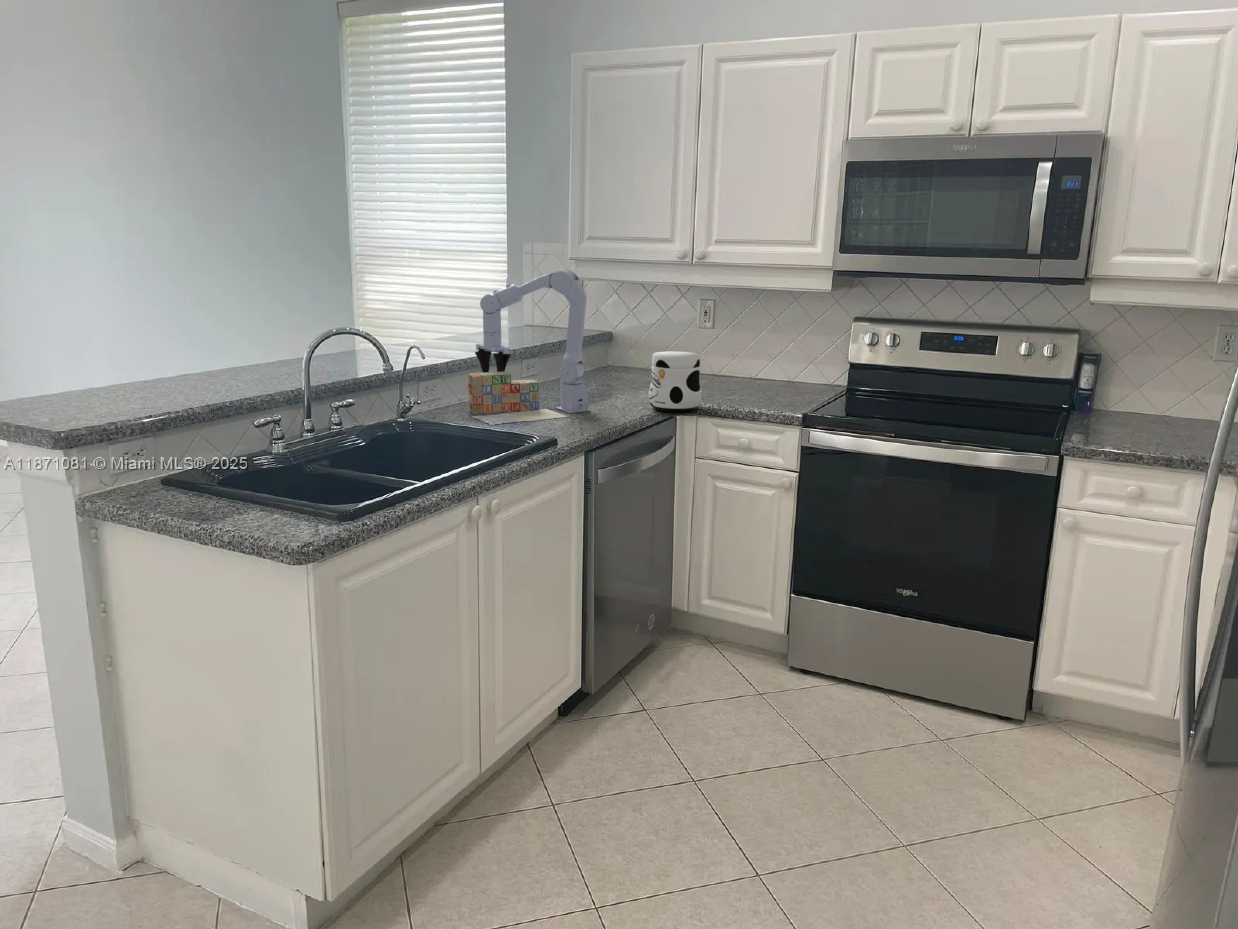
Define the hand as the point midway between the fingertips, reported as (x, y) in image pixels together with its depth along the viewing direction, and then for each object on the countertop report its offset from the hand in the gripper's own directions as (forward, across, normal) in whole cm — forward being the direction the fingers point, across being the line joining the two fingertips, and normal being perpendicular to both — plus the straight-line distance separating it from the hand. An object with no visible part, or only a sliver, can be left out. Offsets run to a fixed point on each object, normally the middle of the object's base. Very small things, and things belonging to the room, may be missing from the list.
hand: (493, 373), depth 294 cm
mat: (+10, -20, +7) cm, 24 cm away
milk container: (+11, -46, -38) cm, 60 cm away
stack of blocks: (+11, -9, +3) cm, 14 cm away
